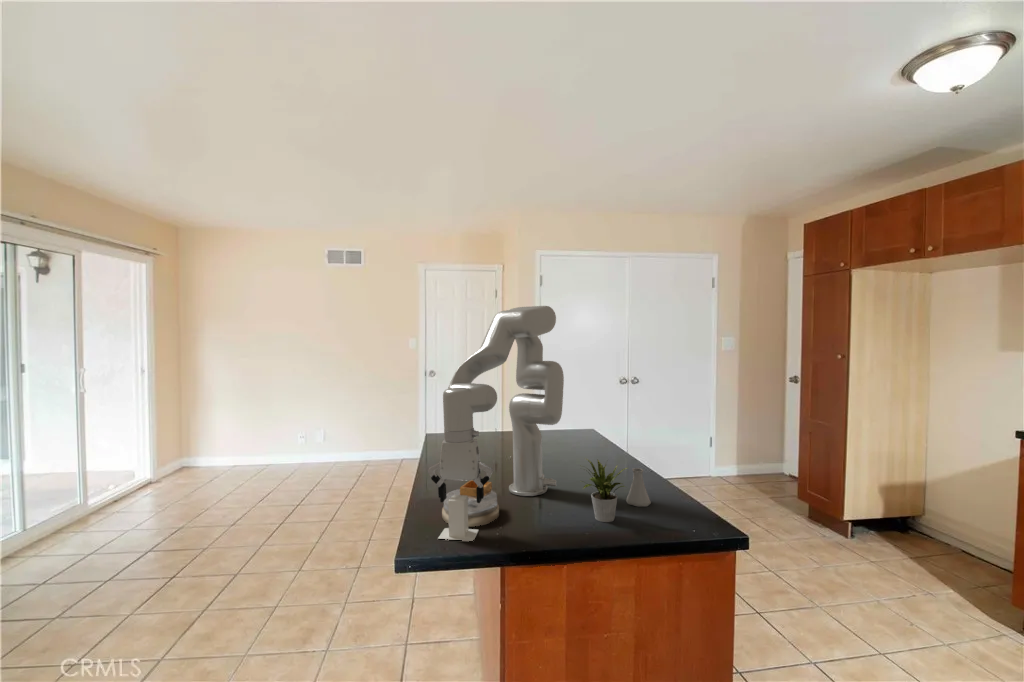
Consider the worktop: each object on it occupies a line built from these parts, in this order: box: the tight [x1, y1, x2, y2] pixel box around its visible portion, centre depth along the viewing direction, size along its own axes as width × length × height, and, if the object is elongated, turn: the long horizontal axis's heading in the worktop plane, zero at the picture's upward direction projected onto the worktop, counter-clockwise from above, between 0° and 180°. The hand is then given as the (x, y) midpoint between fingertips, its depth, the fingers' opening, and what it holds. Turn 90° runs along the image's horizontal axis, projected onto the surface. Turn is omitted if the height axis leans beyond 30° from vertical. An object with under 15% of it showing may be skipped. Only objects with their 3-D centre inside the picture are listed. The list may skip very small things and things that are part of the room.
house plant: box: [581, 458, 628, 523], centre depth 120 cm, size 14×14×16 cm
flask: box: [625, 467, 652, 507], centre depth 130 cm, size 7×7×10 cm
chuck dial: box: [443, 480, 498, 518], centre depth 123 cm, size 15×15×5 cm
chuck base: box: [441, 503, 500, 528], centre depth 123 cm, size 16×16×2 cm
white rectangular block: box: [448, 495, 469, 538], centre depth 111 cm, size 4×4×9 cm
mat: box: [437, 527, 479, 542], centre depth 111 cm, size 9×6×1 cm, turn 82°
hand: (461, 500), depth 114 cm, fingers open, 9 cm apart
